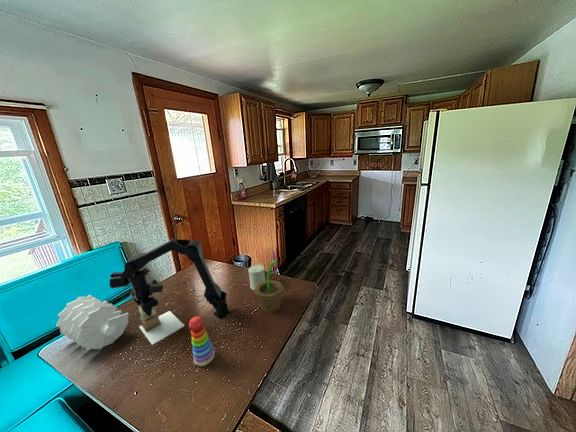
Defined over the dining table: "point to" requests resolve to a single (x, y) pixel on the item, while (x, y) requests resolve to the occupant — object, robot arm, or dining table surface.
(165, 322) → the white board
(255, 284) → the can
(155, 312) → the maple cube
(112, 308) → the spiral staircase
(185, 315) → the dining table surface
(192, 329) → the stacking toy
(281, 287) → the flowerpot
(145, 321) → the walnut block
